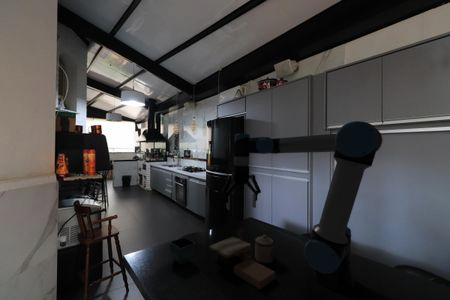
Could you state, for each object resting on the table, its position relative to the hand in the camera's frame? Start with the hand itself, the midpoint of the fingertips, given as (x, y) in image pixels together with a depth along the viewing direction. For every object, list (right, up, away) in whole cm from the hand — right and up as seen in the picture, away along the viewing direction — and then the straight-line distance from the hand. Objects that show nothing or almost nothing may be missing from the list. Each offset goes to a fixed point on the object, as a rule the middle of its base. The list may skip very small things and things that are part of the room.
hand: (241, 208), depth 103 cm
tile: (+4, -25, -15) cm, 29 cm away
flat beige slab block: (-6, -24, -5) cm, 25 cm away
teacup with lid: (+11, -25, +1) cm, 27 cm away
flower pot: (-28, -24, -4) cm, 37 cm away
